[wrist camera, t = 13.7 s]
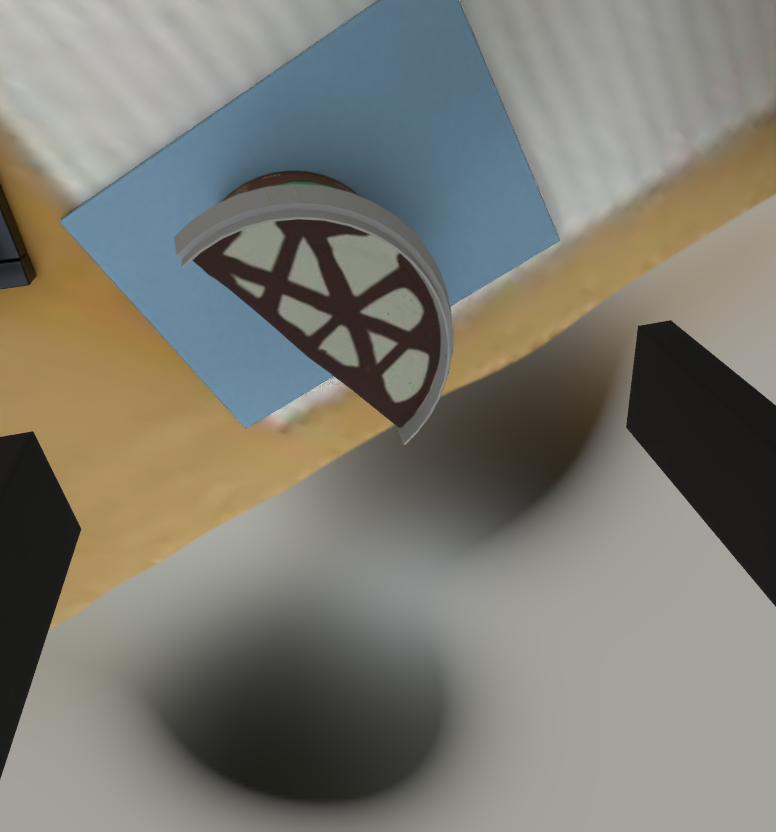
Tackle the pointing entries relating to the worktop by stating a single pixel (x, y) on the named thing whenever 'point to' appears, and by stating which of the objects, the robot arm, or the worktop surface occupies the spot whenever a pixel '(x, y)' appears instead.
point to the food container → (334, 285)
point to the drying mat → (336, 158)
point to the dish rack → (12, 251)
